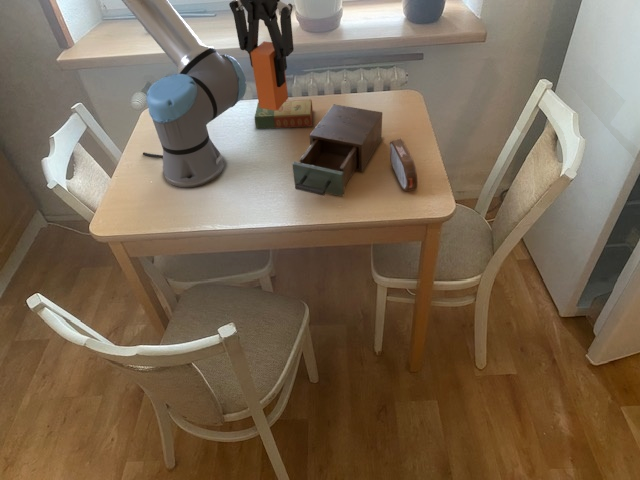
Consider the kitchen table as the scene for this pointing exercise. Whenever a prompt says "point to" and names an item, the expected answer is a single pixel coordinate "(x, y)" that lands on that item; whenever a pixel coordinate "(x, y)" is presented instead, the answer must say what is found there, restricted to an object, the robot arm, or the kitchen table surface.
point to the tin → (403, 165)
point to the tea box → (267, 78)
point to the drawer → (325, 167)
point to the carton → (285, 115)
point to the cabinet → (351, 130)
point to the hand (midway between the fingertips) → (271, 82)
